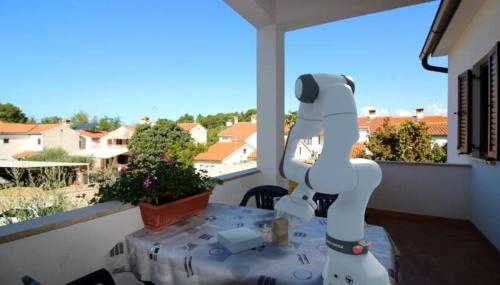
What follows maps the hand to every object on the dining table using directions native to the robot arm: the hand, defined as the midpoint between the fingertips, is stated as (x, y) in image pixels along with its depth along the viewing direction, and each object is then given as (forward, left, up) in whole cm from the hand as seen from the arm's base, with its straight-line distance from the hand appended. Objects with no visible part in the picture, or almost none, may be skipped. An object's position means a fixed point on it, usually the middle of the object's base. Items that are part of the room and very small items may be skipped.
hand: (283, 223), depth 114 cm
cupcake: (-11, -36, -8) cm, 39 cm away
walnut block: (0, +2, -8) cm, 8 cm away
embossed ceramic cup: (+22, -18, -8) cm, 29 cm away
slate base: (+9, +17, -8) cm, 21 cm away
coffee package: (+29, -36, -8) cm, 47 cm away
